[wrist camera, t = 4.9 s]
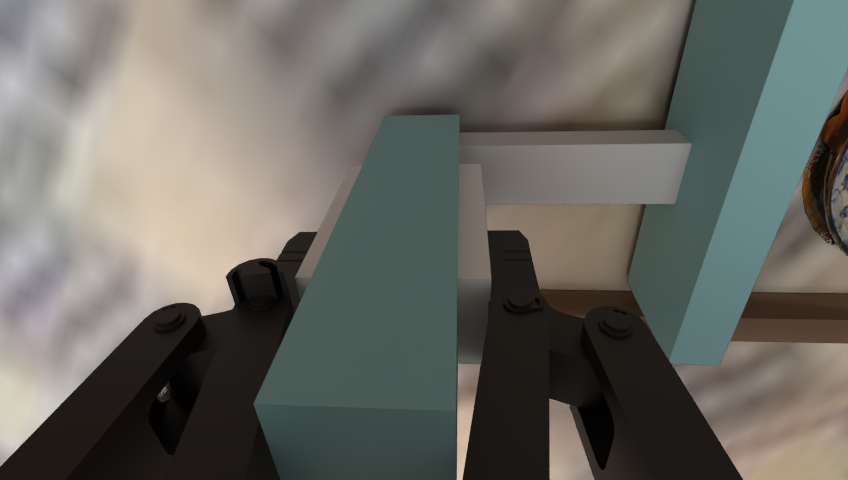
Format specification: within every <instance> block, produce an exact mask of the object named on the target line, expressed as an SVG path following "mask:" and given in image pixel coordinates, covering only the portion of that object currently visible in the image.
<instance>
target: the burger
mask: <svg viewBox="0 0 848 480" xmlns="http://www.w3.org/2000/svg"><path fill="white" fill-rule="evenodd" d="M826 120H827V119H826ZM821 135H822V138H821V140H823V142H824V146H825V148H826V149H825V150H824V151H823V152H824V153H822V154H821V156H820V157H817V156H814V157H813V162H815V161H814V160H816V159H817V158H819V160H818V161H817V162H815V163H813V162H810V163H809V166H810V165H812V164H813V165H812V167H811V169H810V168H808V167H809V166H808V167H807V168H806V167H805V168H806V169H805V171H804V173H805V174H804V176H803V186H802V195H803V201H804V208H805V213H806V214H807V217H808V219H809V221H810V223H811V225H812V227H813V229H814V230H815V231H816V232H817V233H818V232H819V233H818V234H819V235H820V234H821V232H823V233H822V234H824V233H825V232H828V233H831V235H830V234H824V235H825V236H826V237H828V239H825V238H826V237H825V238H824V240H825V241H826V240H829V239H831V240H832V241H831V242H832V244H831V245H833V244H835V243H836V244H837V245H838V246H839V248H840V249H841V250H842V251H843V252H844V253H845V254H846V255H847V256H848V91H847V92H846V94H845V96H844V98H843V101H842V105H841V110H840V114H839V115H836V116H834V117H833V118H831V119H830V120H827V124H826V128H825V129H824V132H823V133H822V134H821ZM817 146H818V145H817ZM820 147H821V145H820V146H819V148H820ZM815 154H820V153H819V150H818V151H817V153H815ZM811 161H812V159H811ZM808 162H809V161H808ZM808 162H807V164H808ZM807 164H806V165H807ZM813 168H814V169H813ZM809 169H810V172H811V175H810V176H811V177H810V178H807V177H808V172H809V171H808V170H809ZM809 180H810V181H809ZM805 183H806V184H805ZM820 236H821V235H820ZM823 237H824V236H823ZM823 237H822V238H823ZM827 243H829V241H828V242H827ZM841 250H840V251H841Z"/></svg>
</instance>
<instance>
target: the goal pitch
mask: <svg viewBox="0 0 848 480" xmlns="http://www.w3.org/2000/svg"><path fill="white" fill-rule="evenodd" d="M539 292H540V293H541V294H542V295H543V297H544V298H545V299H546V300H547V302H548V305H549V306H551V307H552V308H554V309H556V310H558V311H560V312H562V313H565V314H569V315H573V316H577V317H581V318H585V316H586V314H587V312H589V311H590V310H592V309H594V308H596V307H602V306H613V307H619V308H622V309H626V310H629V311H631V312H632V313H634V314H636V315H637V316H639V317H640V318H641V319H642V320H643V321H644V322H645V323H646V324H647V326H648V328H649V329H650V327H649V325H648V323H647V321H646V319H645V317H644V315H643V313H642V311H641V309H640V307H639V305H638V303H637V301H636V299H635V296H634V294H633V292H632V291H582V290H539ZM650 331H651V329H650ZM651 332H652V331H651ZM652 334H653V333H652ZM653 336H654V335H653ZM730 341H754V342H802V343H848V294H816V293H751V294H750V296H749V298H748V301H747V303H746V305H745V308H744V310H743V312H742V315H741V317H740V319H739V321H738V324H737V326H736V328H735V331H734V333H733V335H732V338H731V340H730Z"/></svg>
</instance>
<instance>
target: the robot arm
mask: <svg viewBox="0 0 848 480" xmlns="http://www.w3.org/2000/svg"><path fill="white" fill-rule="evenodd" d="M361 167H362V165H351V167H350V169H349V171H348V173H347V175H346V177H345V179H344V181H343V183H342V185H341V187H340V189H339V191H338V193H337V195H336V197H335V199H334V201H333V203H332V205H331V207H330V209H329V211H328V213H327V215H326V217H325V219H324V221H323V223H322V225H321V227H320V229H319V231H318V232H299V233H298V234H297V235H295V236H294V237H293V238H291V239H290V240H289V241H288V242H287V243H286V245H285V247H284V249H283V250H282V253H281V254H280V255H279V257H278V259H277V261H276V260H273V259H269V258H259V259H254V260H249V261H247V262H244V263H242V264H239V265H238V266H236V267H235V268H233V269H232V270H231V271H230V272H229V273H228V274H227V276H226V279H227V282H228V285H229V287H230V290H231V293H232V296H233V299H234V302H235V305H234V308H233V309H232V310H229V311H225V312H221V313H216V314H211V315H206V316H202V315H201V313H200V310H199V309H198V308H197V307H196V306H195V305H193V304H189V303H175V304H172V305H168V306H165V307H162V308H160V309H158V310H156V311H154V312H153V313H151V314H150V315H149V316H148V317H146V318H145V319H144V320H143V321H142V322H141V323H140V324H139V325H138V326H137V327H136V328H135V329H134V330H133V331H132V332H131V333H130V334H129V335H128V336H127V337H126V338H125V339H124V341H123V342H122V343H121V344H120V345H119V346H118V347H117V348H116V349H115V350H114V351H113V352H112V353H111V354H110V355H109V356H108V357H107V358H106V359H105V360H104V361H103V362H102V363H101V364H100V365H99V366H98V367H97V368H96V369H95V370H94V371H93V372H92V373H91V374H90V375H89V376H88V377H87V378H86V379H85V380H84V382H83V383H82V384H81V385H80V386H79V387H78V388H77V389H76V390H75V391H74V392H73V393H72V394H71V395H70V396H69V397H68V398H67V399H66V400H65V401H64V402H63V403H62V404H61V405H60V406H59V407H58V408H57V409H56V410H55V411H54V412H53V413H52V414H51V415H50V416H49V417H48V418H47V419H46V420H45V421H44V423H43V424H42V425H41V426H40V427H39V428H38V429H37V430H36V431H35V432H34V433H33V434H32V435H31V436H30V437H29V438H28V439H27V440H26V441H25V442H24V443H23V444H22V445H21V446H20V447H19V448H18V449H17V450H16V451H15V452H14V453H13V454H12V455H11V456H10V457H9V458H8V459H7V460H6V461H5V462H4V464H3V465H2V466H1V467H0V480H280V477H279V474H278V471H277V469H276V466H275V463H274V460H273V457H272V455H271V452H270V449H269V446H268V443H267V441H266V438H265V435H264V432H263V429H262V427H261V424H260V421H259V418H258V415H257V413H256V410H255V407H254V402H255V399H256V397H257V395H258V393H259V391H260V389H261V386H262V384H263V382H264V380H265V378H266V375H267V373H268V371H269V369H270V367H271V364H272V362H273V360H274V358H275V356H276V354H277V351H278V349H279V347H280V345H281V343H282V340H283V338H284V336H285V334H286V332H287V329H288V327H289V325H290V323H291V321H292V318H293V316H294V314H295V312H296V310H297V308H298V305H299V303H300V301H301V299H302V297H303V294H304V292H305V290H306V288H307V286H308V283H309V281H310V279H311V277H312V275H313V272H314V270H315V268H316V266H317V264H318V262H319V259H320V257H321V255H322V253H323V251H324V248H325V246H326V244H327V242H328V240H329V237H330V235H331V233H332V231H333V229H334V227H335V224H336V222H337V220H338V218H339V216H340V213H341V211H342V209H343V207H344V205H345V202H346V200H347V198H348V196H349V194H350V191H351V189H352V187H353V185H354V183H355V181H356V178H357V176H358V174H359V172H360V170H361ZM458 363H460V364H481V367H480V373H479V380H478V386H477V392H476V399H475V405H474V411H473V418H472V424H471V430H470V436H469V443H468V449H467V455H466V462H465V468H464V474H463V480H550V478H549V398H550V399H553V400H557V401H560V402H563V403H567V404H570V409H571V412H572V415H573V418H574V421H575V424H576V427H577V430H578V432H579V435H580V438H581V441H582V444H583V447H584V450H585V453H586V456H587V459H588V462H589V465H590V468H591V471H592V474H593V477H594V479H595V480H743V479H742V477H741V476H740V474H739V472H738V471H737V469H736V468H735V466H734V464H733V463H732V461H731V460H730V458H729V456H728V455H727V453H726V452H725V450H724V448H723V447H722V445H721V443H720V442H719V440H718V439H717V437H716V435H715V434H714V432H713V431H712V429H711V427H710V426H709V424H708V423H707V421H706V419H705V418H704V416H703V415H702V413H701V411H700V410H699V408H698V406H697V405H696V403H695V402H694V400H693V398H692V397H691V395H690V394H689V392H688V390H687V389H686V387H685V386H684V384H683V382H682V381H681V379H680V377H679V376H678V374H677V373H676V371H675V369H674V368H673V366H672V365H671V363H670V361H669V360H668V358H667V357H666V355H665V353H664V352H663V350H662V348H661V347H660V345H659V344H658V342H657V340H656V339H655V337H654V336H653V334H652V332H651V331H650V329H649V328H648V326H647V324H646V323H645V322H644V321H643V320H642V319H641V318H640V317H639V316H637V315H636V314H634V313H632V312H631V311H629V310H626V309H622V308H619V307H613V306H602V307H596V308H594V309H592V310H590V311H589V312H587V314H586V316H585V318H581V317H577V316H573V315H569V314H565V313H562V312H560V311H558V310H556V309H554V308H552V307H551V306H549V305H548V302H547V300H546V299H545V298H544V297H543V295H542V294H541V293H540V292H539V287H538V283H537V278H536V274H535V270H534V265H533V261H532V256H531V253H530V248H529V243H528V240H527V239H526V238H525V237H524V236H523V235H522V234H521V232H520V231H519V230H516V231H487V224H486V213H485V202H484V191H483V180H482V169H481V164H459V206H458ZM164 387H166V389H167V392H166V393H165V394H164V396H163V397H161V398H160V399H159V400H158V399H157V396H158V394H159V393H160V392H161V391H162V389H163V388H164Z"/></svg>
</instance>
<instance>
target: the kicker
mask: <svg viewBox="0 0 848 480" xmlns="http://www.w3.org/2000/svg"><path fill="white" fill-rule="evenodd" d="M847 69H848V0H696V3H695V8H694V12H693V16H692V20H691V24H690V28H689V32H688V36H687V40H686V44H685V48H684V52H683V56H682V60H681V64H680V69H679V73H678V77H677V81H676V85H675V89H674V93H673V97H672V101H671V105H670V109H669V113H668V117H667V121H666V126H665V130H628V131H554V132H481V133H459V115H404V116H385V117H384V119H383V121H382V124H381V126H380V128H379V130H378V132H377V135H376V137H375V139H374V141H373V143H372V146H371V148H370V150H369V152H368V154H367V156H366V159H365V161H364V163H363V165H362V167H361V170H360V172H359V174H358V176H357V178H356V181H355V183H354V185H353V187H352V189H351V191H350V194H349V196H348V198H347V200H346V202H345V205H344V207H343V209H342V211H341V213H340V216H339V218H338V220H337V222H336V224H335V227H334V229H333V231H332V233H331V235H330V237H329V240H328V242H327V244H326V246H325V248H324V251H323V253H322V255H321V257H320V259H319V262H318V264H317V266H316V268H315V270H314V272H313V275H312V277H311V279H310V281H309V283H308V286H307V288H306V290H305V292H304V294H303V297H302V299H301V301H300V303H299V305H298V308H297V310H296V312H295V314H294V316H293V318H292V321H291V323H290V325H289V327H288V329H287V332H286V334H285V336H284V338H283V340H282V343H281V345H280V347H279V349H278V351H277V354H276V356H275V358H274V360H273V362H272V364H271V367H270V369H269V371H268V373H267V375H266V378H265V380H264V382H263V384H262V386H261V389H260V391H259V393H258V395H257V397H256V399H255V402H254V407H255V410H256V413H257V415H258V418H259V421H260V424H261V427H262V429H263V432H264V435H265V438H266V441H267V443H268V446H269V449H270V452H271V455H272V457H273V460H274V463H275V466H276V469H277V471H278V474H279V477H280V480H457V385H458V206H459V164H481V169H482V180H483V191H484V202H485V204H646V207H645V211H644V215H643V219H642V223H641V227H640V231H639V235H638V239H637V243H636V248H635V252H634V256H633V260H632V264H631V268H630V272H629V276H628V280H627V282H628V284H629V286H630V288H631V290H632V292H633V294H634V296H635V299H636V301H637V303H638V305H639V307H640V309H641V311H642V313H643V315H644V317H645V319H646V321H647V323H648V325H649V327H650V329H651V331H652V333H653V335H654V337H655V339H656V340H657V342H658V344H659V345H660V347H661V348H662V350H663V352H664V353H665V355H666V357H667V358H668V360H669V361H670V363H671V364H686V365H720V363H721V361H722V359H723V356H724V354H725V352H726V349H727V347H728V345H729V342H730V340H731V338H732V335H733V333H734V331H735V328H736V326H737V324H738V321H739V319H740V317H741V315H742V312H743V310H744V308H745V305H746V303H747V301H748V298H749V296H750V294H751V291H752V289H753V287H754V284H755V282H756V280H757V277H758V275H759V273H760V270H761V268H762V266H763V264H764V261H765V259H766V257H767V254H768V252H769V250H770V247H771V245H772V243H773V240H774V238H775V236H776V233H777V231H778V229H779V226H780V224H781V222H782V219H783V217H784V215H785V213H786V210H787V208H788V206H789V203H790V201H791V199H792V196H793V194H794V192H795V189H796V187H797V185H798V182H799V180H800V178H801V175H802V173H803V171H804V169H805V166H806V164H807V162H808V159H809V157H810V155H811V152H812V150H813V148H814V145H815V143H816V141H817V138H818V136H819V134H820V131H821V129H822V127H823V124H824V122H825V120H826V118H827V115H828V113H829V111H830V108H831V106H832V104H833V101H834V99H835V97H836V94H837V92H838V90H839V87H840V85H841V83H842V80H843V78H844V76H845V73H846V71H847Z"/></svg>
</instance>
